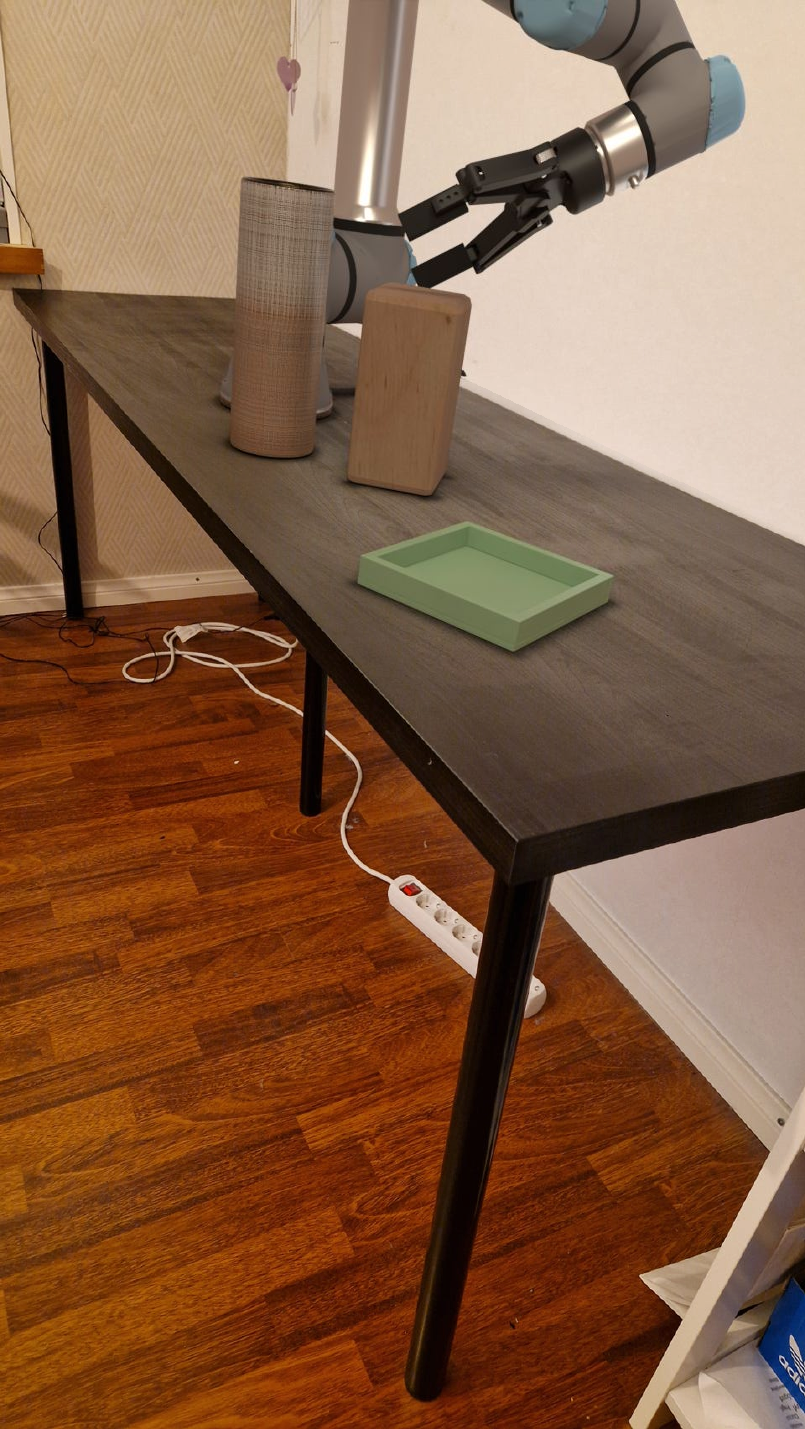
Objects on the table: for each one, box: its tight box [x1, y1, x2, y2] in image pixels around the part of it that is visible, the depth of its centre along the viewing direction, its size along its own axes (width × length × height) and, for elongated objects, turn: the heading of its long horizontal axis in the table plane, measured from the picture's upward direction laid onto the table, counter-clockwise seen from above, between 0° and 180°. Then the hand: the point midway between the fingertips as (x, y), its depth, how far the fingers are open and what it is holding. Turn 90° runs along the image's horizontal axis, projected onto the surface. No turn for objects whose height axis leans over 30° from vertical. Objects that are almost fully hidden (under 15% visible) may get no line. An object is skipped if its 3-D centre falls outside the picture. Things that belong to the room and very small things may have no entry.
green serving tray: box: [356, 520, 615, 653], centre depth 84 cm, size 16×16×3 cm
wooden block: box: [346, 282, 473, 497], centre depth 105 cm, size 10×10×20 cm
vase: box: [229, 176, 335, 460], centre depth 108 cm, size 10×10×28 cm
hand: (409, 256), depth 103 cm, fingers open, 13 cm apart
